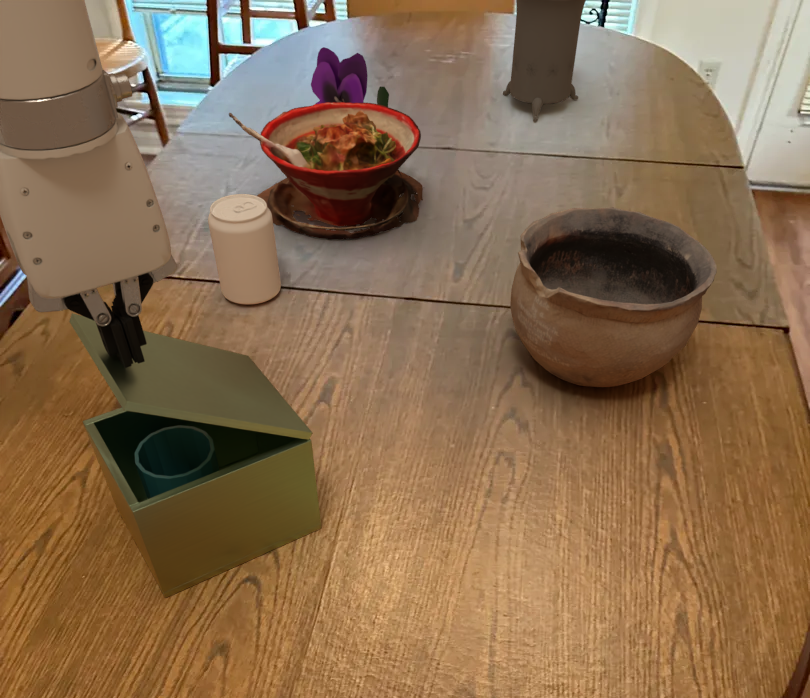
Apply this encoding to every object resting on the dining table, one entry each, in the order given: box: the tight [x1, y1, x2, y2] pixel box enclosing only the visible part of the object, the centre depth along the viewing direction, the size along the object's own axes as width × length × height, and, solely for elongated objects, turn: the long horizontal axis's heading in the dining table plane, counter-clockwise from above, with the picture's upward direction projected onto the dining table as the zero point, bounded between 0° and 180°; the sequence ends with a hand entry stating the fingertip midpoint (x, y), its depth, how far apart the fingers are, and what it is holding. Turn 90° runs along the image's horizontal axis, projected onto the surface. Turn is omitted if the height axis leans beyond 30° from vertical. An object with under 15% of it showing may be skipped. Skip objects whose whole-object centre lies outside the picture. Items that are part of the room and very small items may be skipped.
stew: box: [228, 102, 424, 241], centre depth 117 cm, size 28×24×16 cm
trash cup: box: [134, 425, 220, 499], centre depth 75 cm, size 7×7×10 cm
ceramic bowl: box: [509, 206, 717, 388], centre depth 92 cm, size 22×22×15 cm
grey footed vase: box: [502, 0, 587, 123], centre depth 143 cm, size 19×15×25 cm
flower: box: [310, 47, 390, 107], centre depth 139 cm, size 15×15×14 cm
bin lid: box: [68, 312, 314, 440], centre depth 68 cm, size 17×14×1 cm
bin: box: [82, 406, 322, 599], centre depth 76 cm, size 17×14×12 cm
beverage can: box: [207, 193, 282, 305], centre depth 104 cm, size 8×8×12 cm
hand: (129, 355), depth 63 cm, fingers closed
